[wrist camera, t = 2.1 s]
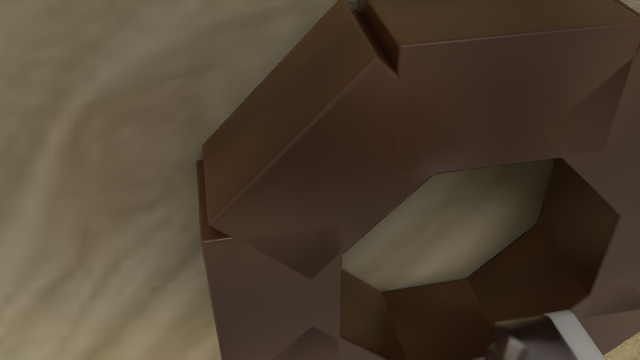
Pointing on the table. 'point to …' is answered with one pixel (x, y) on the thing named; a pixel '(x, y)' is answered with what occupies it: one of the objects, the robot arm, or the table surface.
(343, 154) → the ring
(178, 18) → the table surface
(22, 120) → the table surface
